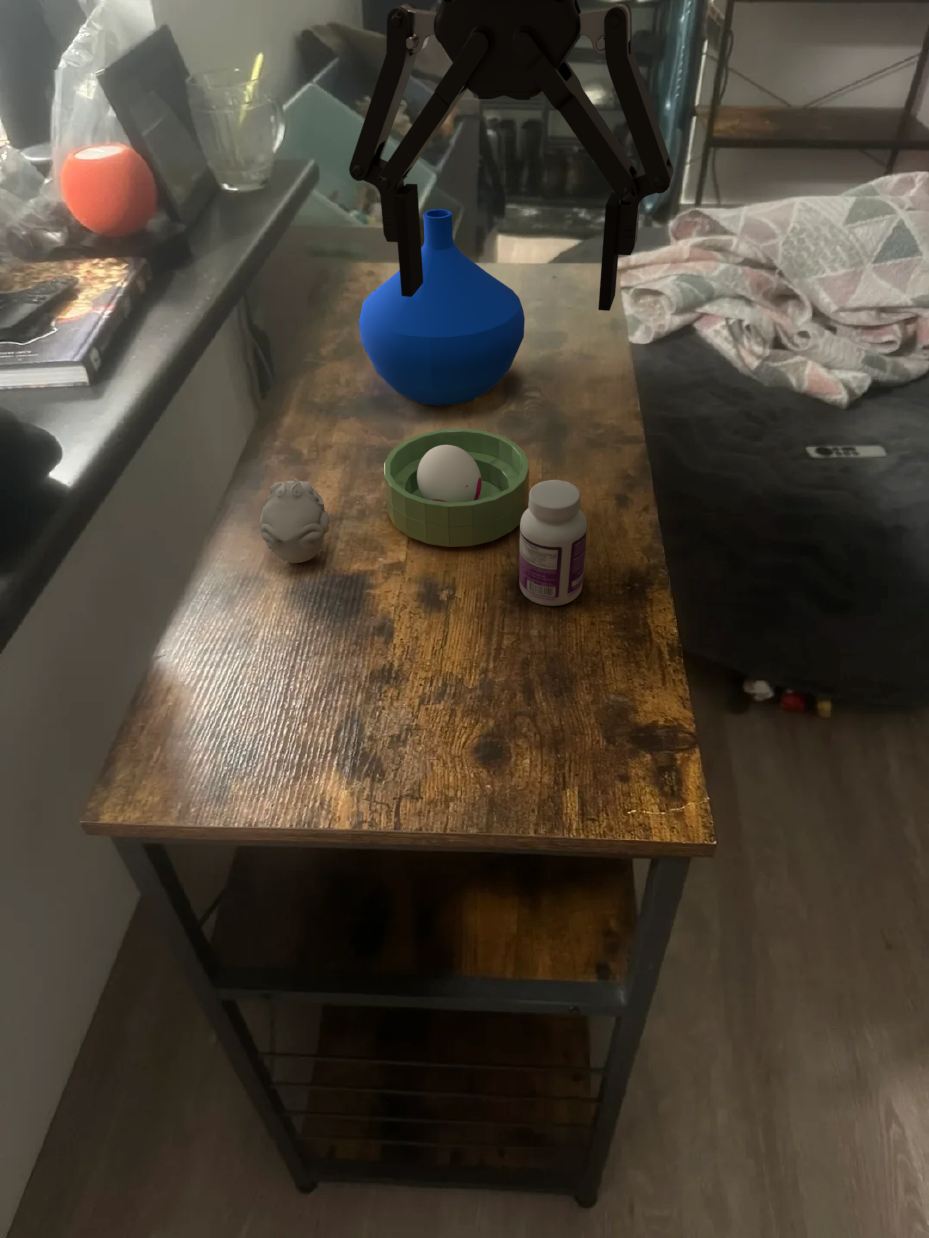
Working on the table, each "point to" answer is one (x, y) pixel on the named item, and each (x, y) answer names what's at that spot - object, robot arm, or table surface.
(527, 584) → the pill bottle
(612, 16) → the robot arm
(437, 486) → the stress ball
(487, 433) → the green bowl
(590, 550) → the table surface
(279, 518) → the frog figurine
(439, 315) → the vase
